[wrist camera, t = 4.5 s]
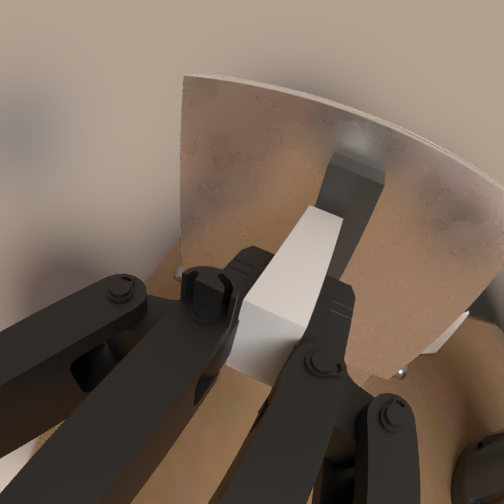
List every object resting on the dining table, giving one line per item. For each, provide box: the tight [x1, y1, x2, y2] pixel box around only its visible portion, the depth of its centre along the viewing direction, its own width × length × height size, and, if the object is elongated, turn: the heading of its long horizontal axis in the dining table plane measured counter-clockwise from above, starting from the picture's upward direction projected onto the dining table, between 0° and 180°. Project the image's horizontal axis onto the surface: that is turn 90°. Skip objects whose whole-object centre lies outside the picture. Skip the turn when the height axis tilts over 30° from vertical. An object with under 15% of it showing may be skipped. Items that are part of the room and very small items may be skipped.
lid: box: [180, 73, 504, 380], centre depth 16 cm, size 17×19×3 cm
